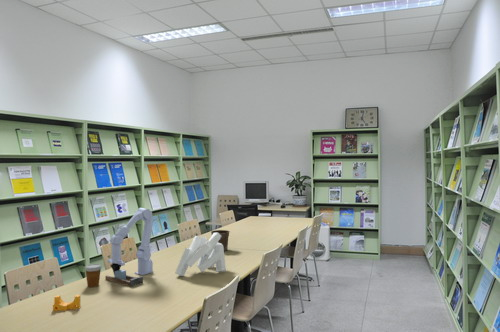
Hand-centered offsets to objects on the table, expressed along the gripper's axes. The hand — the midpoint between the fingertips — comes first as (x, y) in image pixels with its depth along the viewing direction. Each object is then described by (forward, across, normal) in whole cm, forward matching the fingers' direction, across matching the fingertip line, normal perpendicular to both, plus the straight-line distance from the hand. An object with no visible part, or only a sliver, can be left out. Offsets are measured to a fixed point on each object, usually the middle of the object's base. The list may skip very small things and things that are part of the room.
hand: (116, 275), depth 247 cm
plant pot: (+3, +5, +103) cm, 103 cm away
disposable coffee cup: (+3, -1, -16) cm, 16 cm away
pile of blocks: (+3, +37, +43) cm, 57 cm away
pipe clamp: (+3, +21, -46) cm, 51 cm away
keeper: (+3, +4, 0) cm, 5 cm away
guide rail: (+3, +7, 0) cm, 8 cm away
